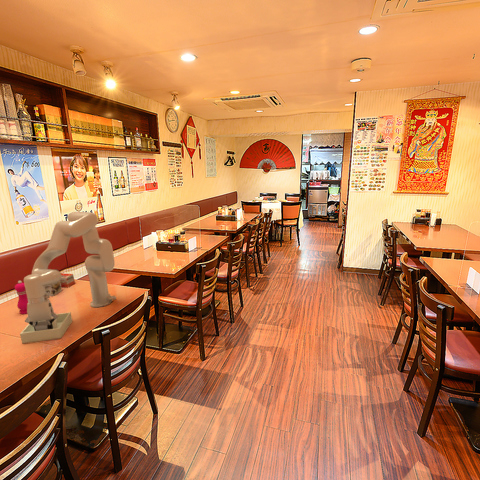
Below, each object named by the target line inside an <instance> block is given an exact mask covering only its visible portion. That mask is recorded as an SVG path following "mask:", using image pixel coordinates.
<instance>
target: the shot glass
mask: <svg viewBox="0 0 480 480" xmlns="http://www.w3.org/2000/svg"><path fill="white" fill-rule="evenodd" d="M54 313H55V314H57V313H56V312H54ZM53 318H54V317H53V316H51V319H53ZM44 321H46V320H44ZM52 325H53V329H54V328H55V327H57V319H55V320H54V321H53V322H52Z"/></svg>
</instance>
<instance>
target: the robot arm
mask: <svg viewBox="0 0 480 480" xmlns="http://www.w3.org/2000/svg"><path fill="white" fill-rule="evenodd" d="M98 224H99V217H98V216H97V214H96V213H95V212H90V211H72V212H69V213H68V215H67V220H60V221H58V222H56V223H55V225H54V228H53V230H52V234H51V237H50V240H49V242H48V245H47V247H46V249H45V250H44V251H43V252H42V253H41V254H39V256H38V257H37V259H36V260H35V262H34V264H33V267H32V270H31V274H28V275H26V276H24V278H23V283H24V284H25V289H26V293H27V298H28V303H27V316H26V318H25V320H24V322H25V323H27V324H30V325H32V326H33V327H34V329H35V326H36V325H37V324H38V321H44V320H46V322H47V323H48V329H53V325H52V322H53V321H54V320H55V319H57V318H58V315H56V314H57V313H56V312H55V311H54V307H53V305H52V302H51V300H50V297H51V296H49V295H47V294H46V291H45V287H46V286H49V285H53V284H56V283H58V282H59V281H60V280H61V278H62V275H61V273H62V272H61V271H59V270H58V271H57V270H56V269H51V268H49V265H50V264H51V262H52V261H53V260H54V259H55V258H58V257H59V256H61V255H63V254H65V253H66V252H67V250H68V247H69V244H70V241H71V238H78V237H82V243H83V247H84V250H85V252H86V253H87V254H90V255H89V256H87V257H86V258H85V260H84V267H85V269H86V272H87V275H88V279H89V287H90V293H91V299H92V301H91V302H90V303H89V304H90V307H92V308H102V307H106V306H108V305H110V304H111V303H112V302H113V300H117V296H116V295H111V294H110V293H109V287H108V280H107V274H106V273H108V272H111V271H113V270H114V268H115V264H116V263H115V256H114V250H113V245H112V243H111V241H109V239H105V238H101V237H100V235H99V232H98V228H97V227H96V226H97V225H98ZM55 313H56V314H55ZM51 316H53V317H54V318H53V319H51ZM35 331H36V329H35Z"/></svg>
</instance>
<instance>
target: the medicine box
mask: <svg viewBox="0 0 480 480" xmlns="http://www.w3.org/2000/svg"><path fill="white" fill-rule="evenodd" d="M60 273H61V275H62V278H61V280H60V283H61V288H62V289H63V288H64V289H68V288H70V287H71V286H74V285H75V283H76V281H75V277H74V273H64V272H63V273H62V272H60Z"/></svg>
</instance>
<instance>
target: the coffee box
mask: <svg viewBox="0 0 480 480" xmlns="http://www.w3.org/2000/svg"><path fill="white" fill-rule="evenodd" d="M55 270H57V271H59V269H58V268H57V269H55ZM62 289H63V288H61V283H60V281H59V282H58V283H56V284H53V285H49V286H46V287H45V291H46V294H47V295H49V296H50V297H54V296H56V295H57V294H59V293H61V292H62V291H63V290H62Z"/></svg>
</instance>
